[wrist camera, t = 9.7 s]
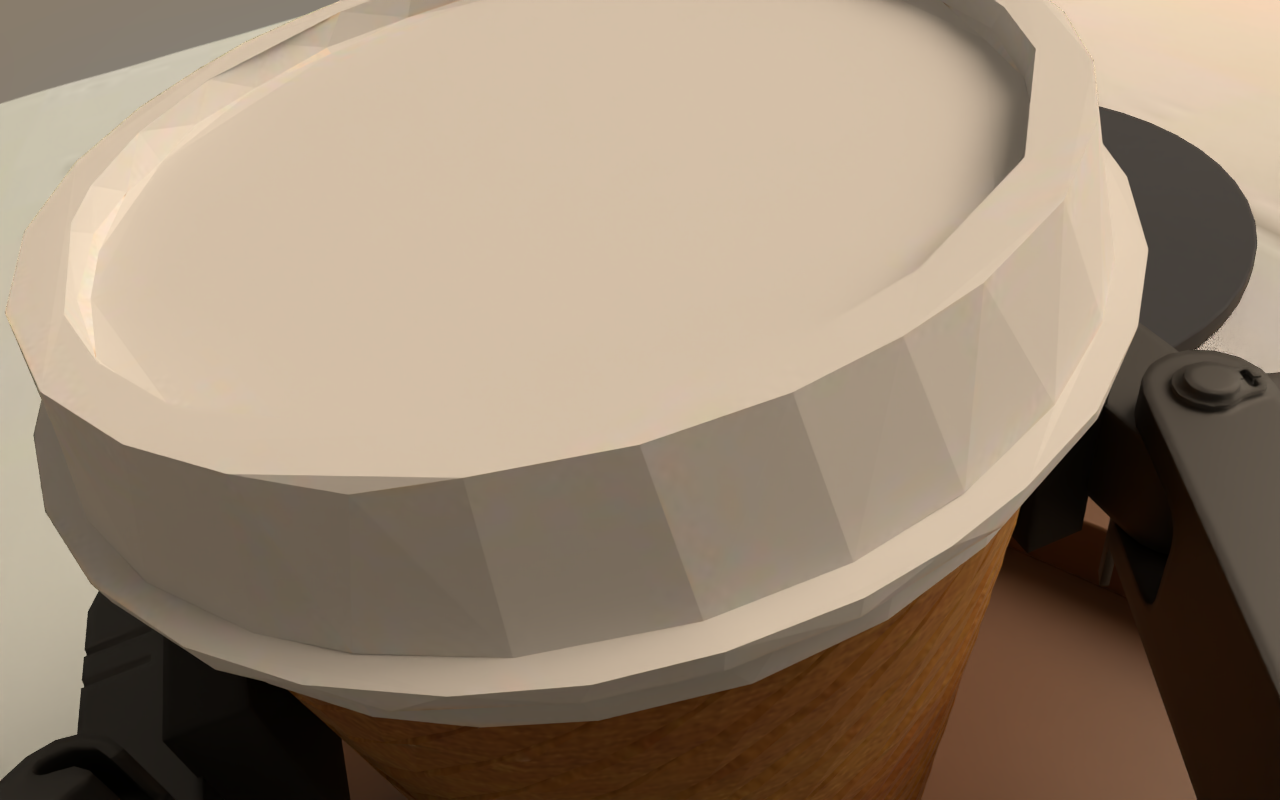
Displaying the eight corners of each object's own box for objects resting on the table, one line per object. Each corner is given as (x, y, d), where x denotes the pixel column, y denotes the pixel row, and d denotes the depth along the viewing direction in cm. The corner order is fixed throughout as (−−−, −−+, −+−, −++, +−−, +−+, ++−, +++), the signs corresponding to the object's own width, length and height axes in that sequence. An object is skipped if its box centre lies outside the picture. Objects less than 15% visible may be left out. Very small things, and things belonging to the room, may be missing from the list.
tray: (60, 890, 17) (-6, 842, 16) (632, 368, 25) (618, 308, 24) (964, 2166, 8) (978, 2294, 7) (1424, 701, 16) (1471, 631, 14)
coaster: (597, 301, 27) (592, 283, 27) (861, 80, 34) (860, 64, 34) (1121, 500, 20) (1126, 480, 19) (1324, 162, 26) (1330, 141, 26)
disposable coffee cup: (313, 1022, 15) (-376, 448, 7) (549, 527, 21) (344, -66, 13) (1003, 1268, 11) (1271, 737, 3) (1033, 597, 18) (1149, -131, 10)
